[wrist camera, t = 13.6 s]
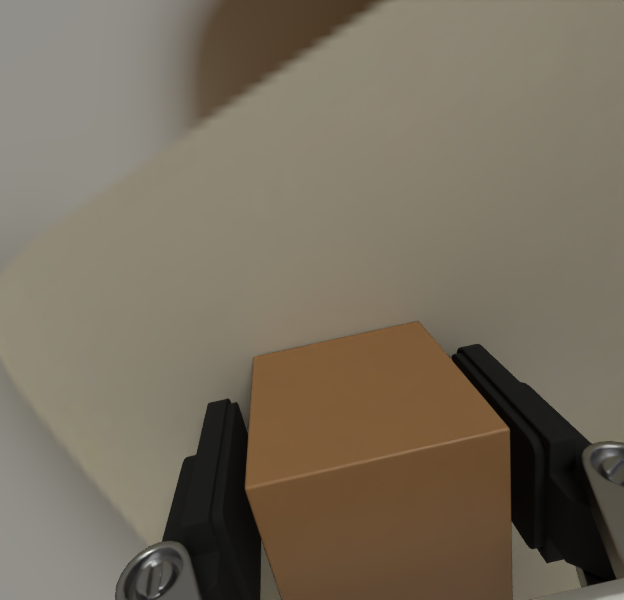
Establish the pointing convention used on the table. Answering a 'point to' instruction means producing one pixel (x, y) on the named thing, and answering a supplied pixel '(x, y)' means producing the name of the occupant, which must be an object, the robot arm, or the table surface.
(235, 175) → the table surface
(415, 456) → the block
